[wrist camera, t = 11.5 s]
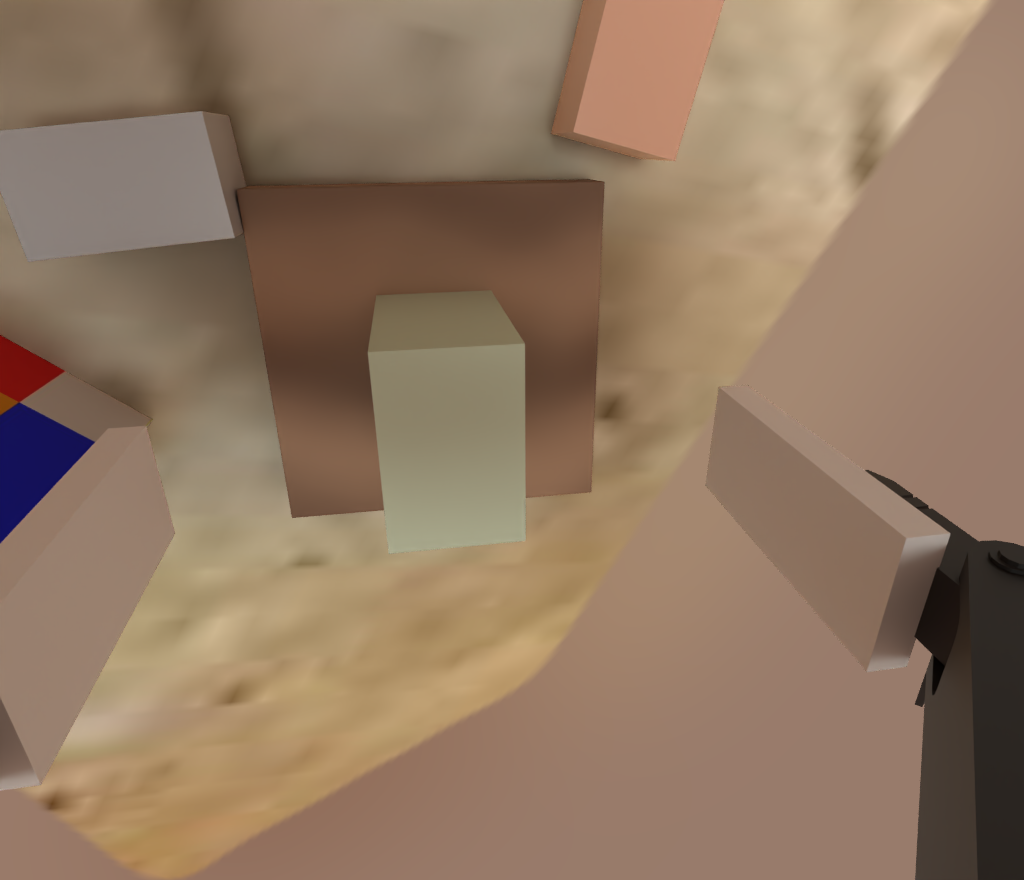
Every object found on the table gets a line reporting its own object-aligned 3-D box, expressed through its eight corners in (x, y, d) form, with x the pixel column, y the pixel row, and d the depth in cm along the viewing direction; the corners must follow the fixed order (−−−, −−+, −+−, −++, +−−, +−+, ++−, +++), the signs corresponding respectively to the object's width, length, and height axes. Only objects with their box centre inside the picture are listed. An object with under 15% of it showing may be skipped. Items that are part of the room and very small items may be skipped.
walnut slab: (249, 186, 23) (236, 189, 21) (589, 179, 24) (604, 182, 23) (299, 493, 28) (292, 517, 26) (579, 470, 29) (591, 492, 27)
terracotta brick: (597, -63, 22) (631, -99, 18) (693, -29, 22) (741, -57, 19) (550, 133, 24) (573, 131, 21) (639, 158, 25) (674, 161, 21)
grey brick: (79, 245, 23) (28, 261, 20) (39, 134, 21) (-23, 132, 18) (256, 225, 23) (234, 237, 20) (229, 115, 22) (201, 111, 19)
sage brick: (376, 295, 23) (367, 352, 17) (490, 290, 23) (525, 343, 17) (391, 452, 25) (388, 553, 19) (494, 444, 26) (525, 541, 20)
